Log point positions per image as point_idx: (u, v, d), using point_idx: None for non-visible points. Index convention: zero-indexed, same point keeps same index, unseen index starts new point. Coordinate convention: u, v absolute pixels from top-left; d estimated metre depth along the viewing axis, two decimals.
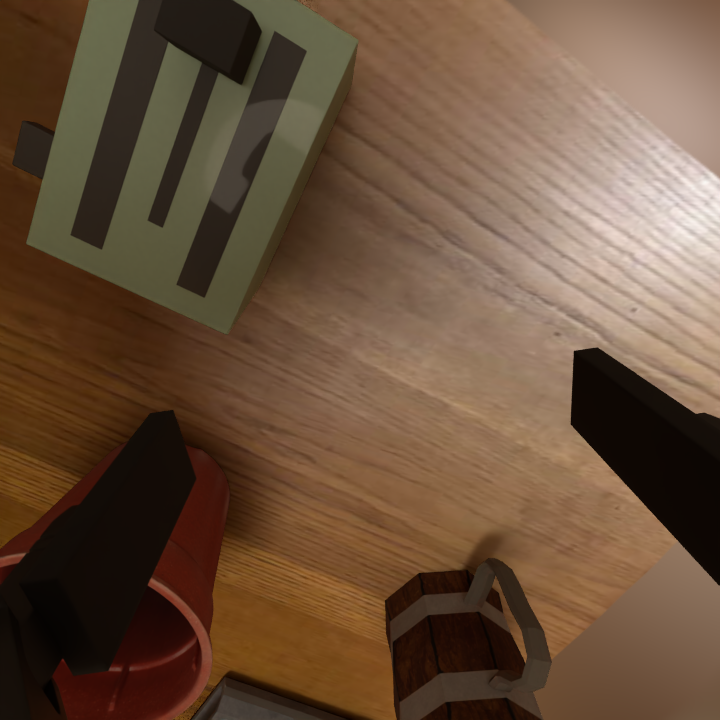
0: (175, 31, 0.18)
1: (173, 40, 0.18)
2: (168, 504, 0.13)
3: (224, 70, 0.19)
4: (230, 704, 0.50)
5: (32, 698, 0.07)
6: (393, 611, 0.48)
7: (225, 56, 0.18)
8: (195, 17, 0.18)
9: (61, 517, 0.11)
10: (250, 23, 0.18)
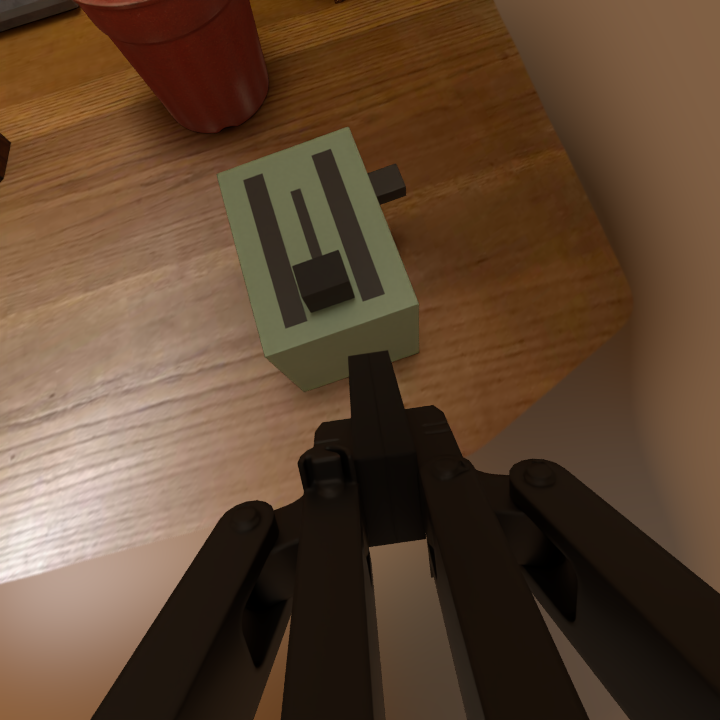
0: (328, 258, 0.29)
1: None
2: None
3: (295, 265, 0.29)
4: None
5: (365, 572, 0.08)
6: None
7: (299, 270, 0.29)
8: (324, 271, 0.29)
9: (320, 429, 0.13)
10: (301, 294, 0.29)
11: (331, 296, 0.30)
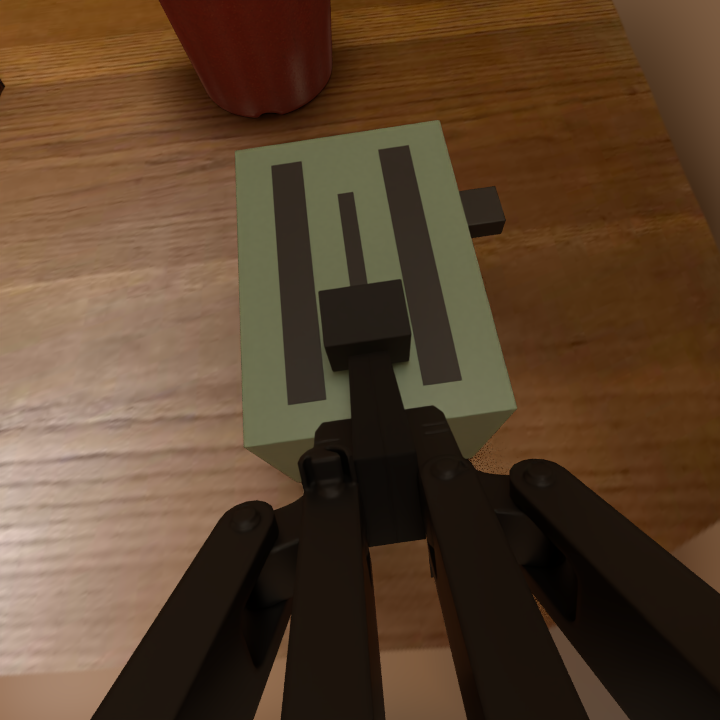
0: (381, 289, 0.17)
1: (379, 282, 0.17)
2: None
3: (324, 290, 0.17)
4: None
5: (365, 572, 0.08)
6: None
7: (328, 300, 0.17)
8: (371, 310, 0.17)
9: (320, 430, 0.13)
10: None
11: None
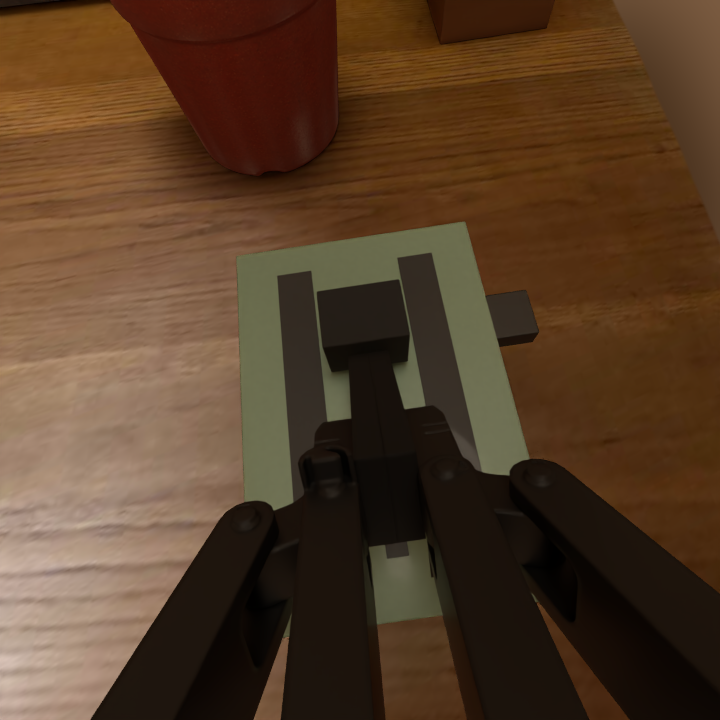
0: (380, 289, 0.17)
1: (378, 282, 0.17)
2: None
3: (322, 291, 0.17)
4: None
5: (365, 572, 0.08)
6: None
7: (327, 301, 0.17)
8: (369, 310, 0.17)
9: (321, 429, 0.13)
10: (322, 342, 0.17)
11: None
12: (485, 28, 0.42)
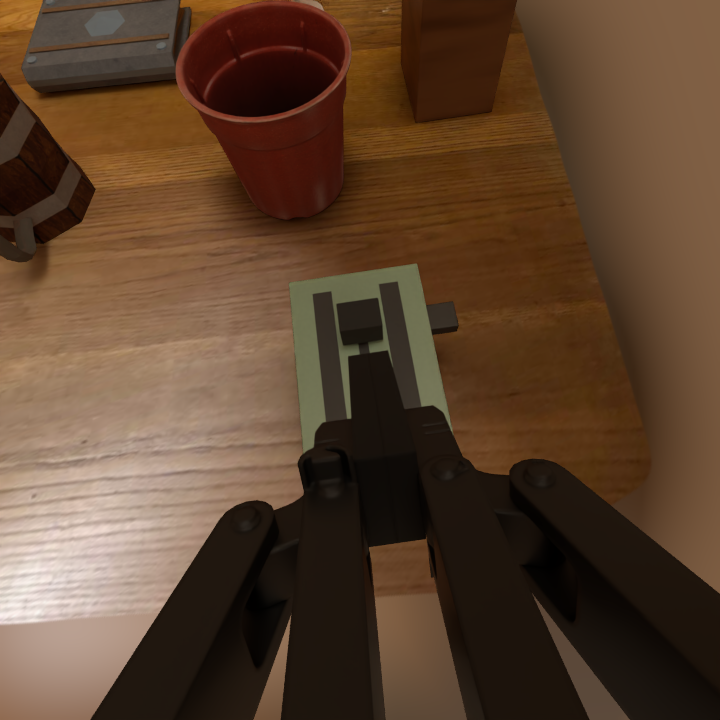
0: (368, 302, 0.34)
1: (367, 299, 0.34)
2: None
3: (339, 303, 0.34)
4: (165, 61, 0.62)
5: (365, 572, 0.08)
6: (83, 184, 0.57)
7: (341, 308, 0.34)
8: (362, 313, 0.34)
9: (321, 429, 0.13)
10: (339, 329, 0.34)
11: (364, 335, 0.35)
12: (447, 112, 0.59)
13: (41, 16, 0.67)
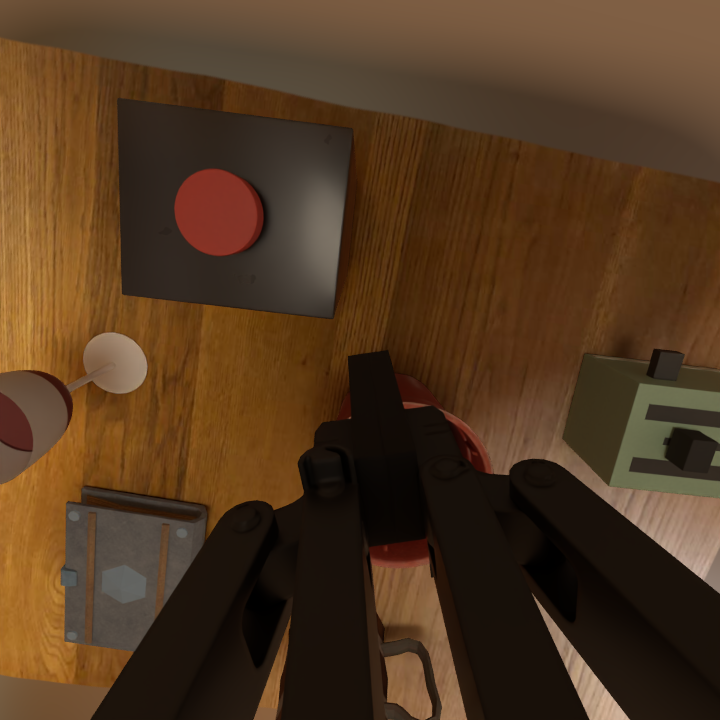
0: (694, 448, 0.41)
1: (691, 448, 0.41)
2: None
3: (683, 468, 0.42)
4: (199, 528, 0.56)
5: (365, 572, 0.08)
6: None
7: (689, 468, 0.42)
8: (701, 454, 0.41)
9: (321, 429, 0.13)
10: None
11: None
12: None
13: (96, 642, 0.60)
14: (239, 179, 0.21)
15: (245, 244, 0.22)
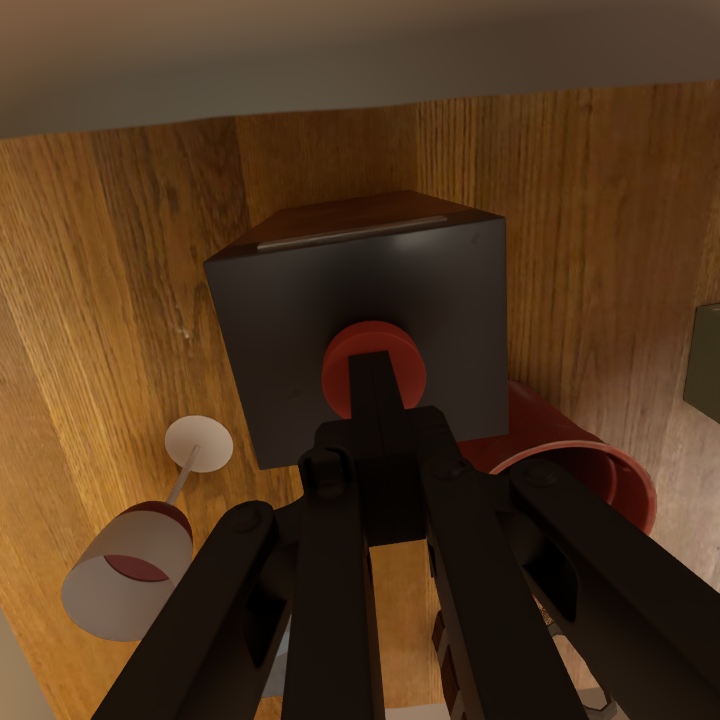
0: None
1: None
2: None
3: None
4: None
5: (365, 572, 0.08)
6: None
7: None
8: None
9: (321, 430, 0.13)
10: None
11: None
12: None
13: None
14: (396, 336, 0.17)
15: (415, 404, 0.18)
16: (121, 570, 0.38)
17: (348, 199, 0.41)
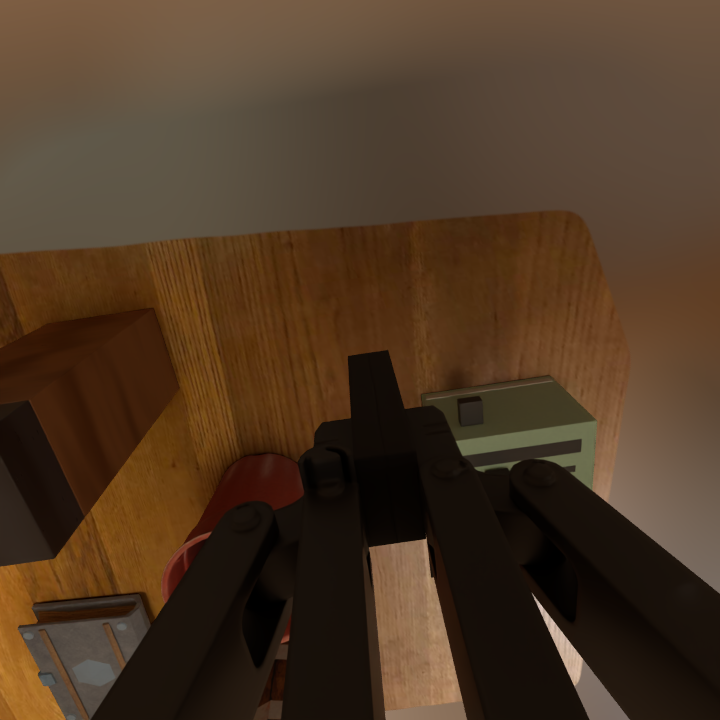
0: None
1: None
2: None
3: None
4: (137, 617, 0.64)
5: (365, 572, 0.08)
6: None
7: None
8: None
9: (321, 429, 0.13)
10: None
11: None
12: (167, 359, 0.52)
13: None
14: None
15: None
16: None
17: (101, 316, 0.50)
